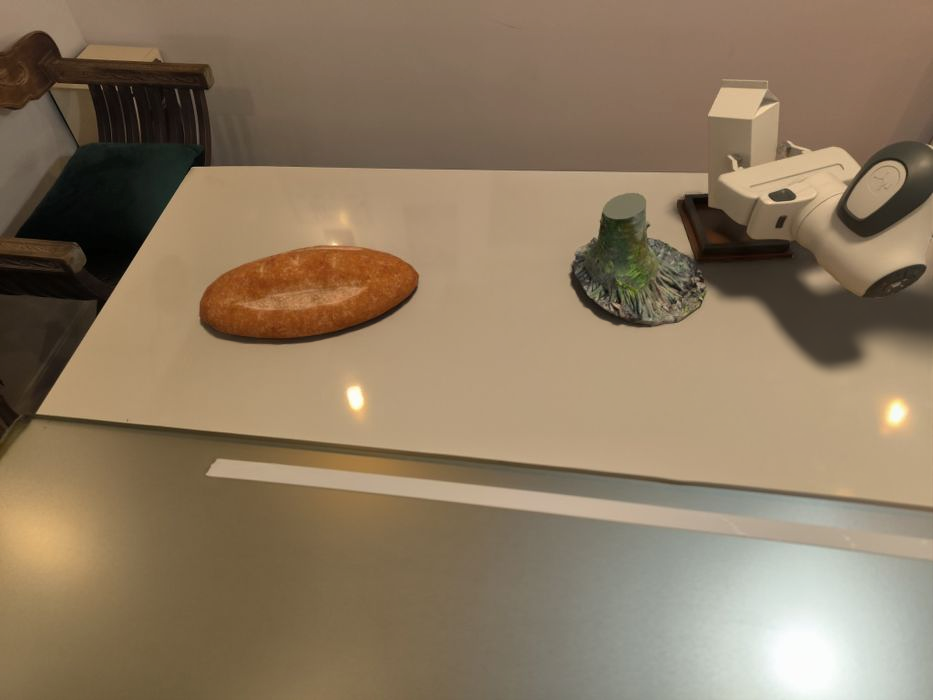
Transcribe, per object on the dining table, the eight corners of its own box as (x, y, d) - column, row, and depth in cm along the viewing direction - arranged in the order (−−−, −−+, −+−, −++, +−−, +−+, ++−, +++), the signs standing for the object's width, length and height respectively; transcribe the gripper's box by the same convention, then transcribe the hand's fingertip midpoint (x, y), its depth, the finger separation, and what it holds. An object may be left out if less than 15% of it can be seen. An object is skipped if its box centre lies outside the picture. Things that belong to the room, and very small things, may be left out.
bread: (211, 276, 104) (189, 237, 97) (416, 249, 104) (409, 208, 97) (195, 357, 93) (169, 319, 86) (424, 326, 94) (417, 286, 87)
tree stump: (697, 345, 89) (692, 255, 76) (566, 333, 98) (542, 251, 85) (715, 256, 98) (714, 163, 85) (594, 253, 107) (576, 169, 94)
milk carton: (748, 215, 94) (753, 89, 83) (707, 207, 99) (707, 88, 88) (774, 196, 97) (782, 72, 86) (733, 189, 102) (735, 71, 91)
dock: (762, 198, 107) (767, 187, 105) (791, 258, 97) (797, 246, 96) (676, 203, 107) (679, 192, 105) (697, 263, 98) (700, 251, 96)
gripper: (890, 170, 82) (823, 118, 90) (755, 205, 79) (700, 148, 88) (868, 207, 87) (807, 154, 95) (741, 242, 84) (690, 184, 93)
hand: (755, 152), depth 91 cm, fingers closed on milk carton, 7 cm apart
